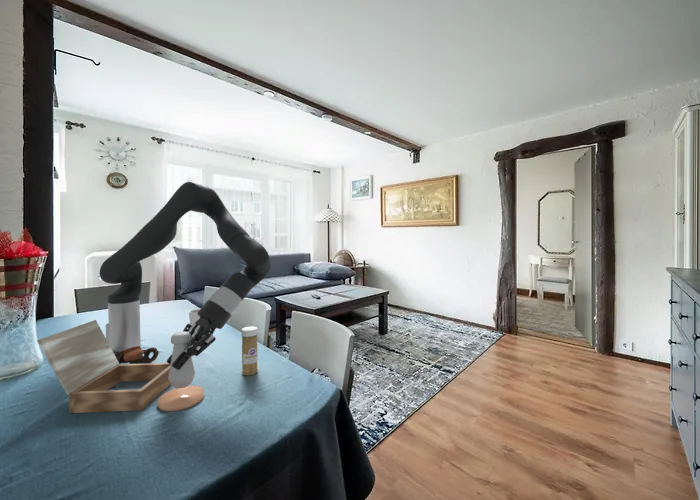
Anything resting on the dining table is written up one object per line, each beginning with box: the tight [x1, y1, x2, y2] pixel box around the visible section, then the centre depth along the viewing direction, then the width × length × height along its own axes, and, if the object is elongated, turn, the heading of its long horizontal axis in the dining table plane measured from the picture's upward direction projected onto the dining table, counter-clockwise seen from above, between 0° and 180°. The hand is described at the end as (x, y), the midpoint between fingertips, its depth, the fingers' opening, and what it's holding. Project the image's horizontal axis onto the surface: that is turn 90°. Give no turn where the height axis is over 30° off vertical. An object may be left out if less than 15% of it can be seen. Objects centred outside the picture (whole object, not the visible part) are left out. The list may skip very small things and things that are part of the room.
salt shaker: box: [168, 331, 196, 389], centre depth 73 cm, size 6×6×13 cm
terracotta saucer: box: [157, 385, 205, 412], centre depth 74 cm, size 10×10×1 cm
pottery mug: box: [114, 345, 160, 364], centre depth 91 cm, size 12×10×8 cm
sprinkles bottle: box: [240, 325, 259, 376], centre depth 88 cm, size 5×5×13 cm
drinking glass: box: [188, 308, 201, 325], centre depth 124 cm, size 7×7×10 cm
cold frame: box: [36, 319, 171, 414], centre depth 76 cm, size 22×16×17 cm
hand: (172, 365), depth 72 cm, fingers closed on salt shaker, 3 cm apart
